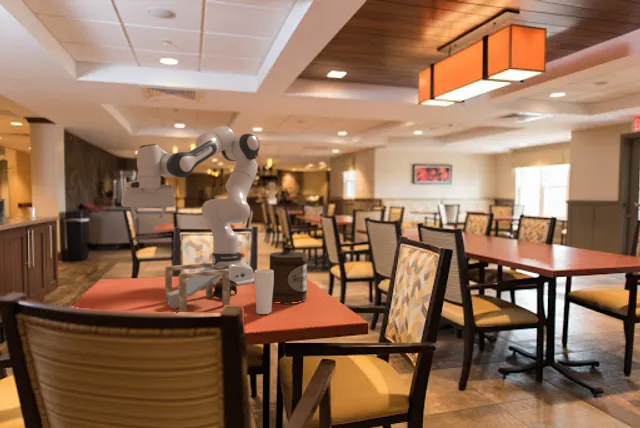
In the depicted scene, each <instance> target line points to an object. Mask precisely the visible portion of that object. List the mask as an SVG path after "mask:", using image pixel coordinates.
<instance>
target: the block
mask: <svg viewBox="0 0 640 428" xmlns="http://www.w3.org/2000/svg"><path fill="white" fill-rule="evenodd" d="M167 298H168V306H169V307H170V308H171V309H172V308H173V309H172V310H175V309H177V308H178V309H179V289H175V290H172V292H168V293H167Z"/></svg>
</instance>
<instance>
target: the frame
mask: <svg viewBox="0 0 640 428" xmlns="http://www.w3.org/2000/svg"><path fill="white" fill-rule="evenodd" d="M207 266H209V267H212V268H213V264H212V262H206V263H205V262H202V263H193V264H192V263H191V264H182V265H181V264H180V265H171V266H165V267H164V268H165V270H164V289H165V290H164V293H165V294H164V295H165V297H164V299H165V303H166V304H167V303H168V298H167V293H168V292H172V291H173V271H174V272H175V271H182V270H193V269H205V268H206V267H207ZM221 274H222V305H221V306H222V307H224V306H225V305H230V303H231V301H230V299H231V297H230V296H231V294H230V274H229V269H223V270H213V271H203V272H200V271H193V272H185V273H184V272H183V273H182V272H181V273H179V274H178V286H179V307H178V313H180V312H186V313H187V311H188V310H187V306H188V305H187V303H188V301H187V299H188V298H187V295H186V280H187V279H189V278H193V277H202V276H212V275H221ZM213 285H214V284H213V281H212V282H211V283H209V284H208V285H206V286H205V297H207V298H213V297H212V296H213V291H214V289H213ZM168 304H169V303H168ZM230 306H231V305H230Z"/></svg>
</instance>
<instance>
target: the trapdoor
mask: <svg viewBox="0 0 640 428" xmlns="http://www.w3.org/2000/svg"><path fill="white" fill-rule="evenodd" d="M212 267H213V268H212ZM212 267H209V266H207V267H206V268H202V270H200V271H199V272H203V271H213V270H223V269H229V268H228V266H227V265H226V264H223V263H220V262H218V263H217V264H215V265H214V266H213V265H212ZM221 275H222V274H221ZM221 275H212V276H202V277H193V278H187V279H186V296H188V297H191V296H193V295H194V294H196V293H198V292H199V291H200V290H202V289H203V288H204V287H205V288H206V285H208V284H209V283H211V282H212V281H213V280H215V279H216V278H218V277H219V276H221ZM178 289H179V285H178V286H176V290H178Z"/></svg>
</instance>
